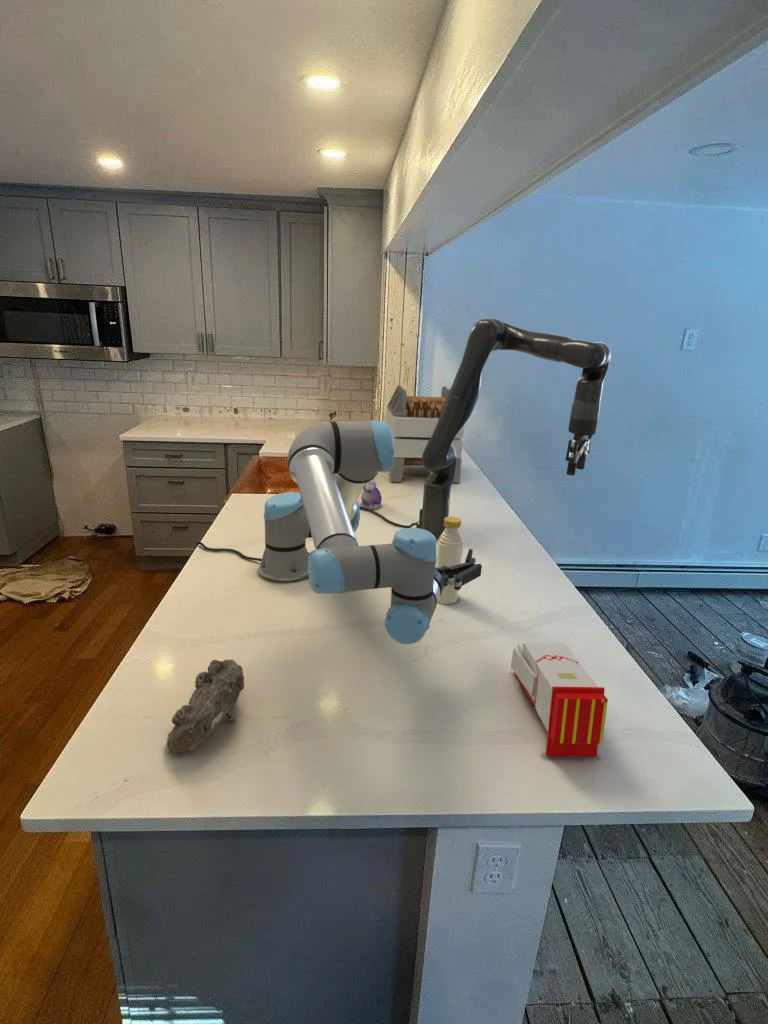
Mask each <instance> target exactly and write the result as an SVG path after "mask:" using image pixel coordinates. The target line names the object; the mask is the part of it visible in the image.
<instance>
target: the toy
mask: <svg viewBox="0 0 768 1024" xmlns="http://www.w3.org/2000/svg"><path fill="white" fill-rule="evenodd" d="M510 667H511V669H512V670H513V674H514V676H515V677H516V679H517V680H518V682H519V684H520V686H521V687H522V689H523V691H524V692H525V694H526V695H527V697H528V698H529V701H530V702H531V703H532V705H533V706H534V708H535V710H536V713H537V715H538V716H539V718H540V720H541V722H542V724H543V725H544V727H545V729H546V731H547V735H546V736H547V737H546V744H545V745H546V746H545V756H546V757H582V758H583V757H584V758H585V757H588V758H589V757H590V758H591V757H593V758H595V757H596V758H597V754H598V746H599V745H603V741H604V734H605V725H606V718H607V717H606V715H607V709H608V700H609V699H608V698H607V696H606V695H605V691H606V688H605V687H604V686H598V685H597V684H596V682H595V681H594V680H593V679H592V678H591V676H590V675H589V673H588V672H587V671H586V670H585V668H584V667H583V666H582V665H581V663H580V662H579V661H578V659H577V658H576V657H575V656H574V654H573V653H572V651H571V650H570V649H569V648H568V647H567V645H566V644H565V642H537V641H536V642H533V641H532V642H531V641H523V642H522V643H521V642H520V643H517V648H513V649H512V655H511V663H510Z"/></svg>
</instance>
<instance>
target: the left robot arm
mask: <svg viewBox="0 0 768 1024" xmlns="http://www.w3.org/2000/svg"><path fill="white" fill-rule="evenodd" d="M393 465H394V442H393V436H392V432H391V429H390V427H389V425H388V424H387V423H386V421H383V420H374V419H372V420H360V421H359V420H357V421H354V420H353V421H350V420H349V421H346V420H345V421H319V422H316V423H313V424H310V425H309V426H307V427H305V428H304V429H303V430H302V431H301V432H299V433H298V434H297V435H296V437H295V438H294V440H293V442H292V443H291V445H290V448H289V450H288V454H287V468H288V469H287V470H288V473H289V475H290V478H291V479H292V481H293V482H294V483H296V484H297V487H298V491H285V492H280V493H277V494H273V495H272V496H270V497H268V498H267V500H266V501H265V503H264V510H263V511H264V512H263V519H264V543H265V545H264V546H265V547H264V551H263V554H262V556H261V558H258V557H253V556H247V555H246V554H245V555H244V553H242V552H240V551H238V550H236V549H233V548H213V547H208V546H207V545H205V544H204V543H203V542H202V541H198V542H196V543H195V546H199V545H200V547H202V548H203V549H205V550H208V551H212V552H232V553H236V554H237V555H238V556H240V557H241V558H243V559H245V560H249V561H257V562H259V575H260V576H261V577H263V578H264V579H265V580H269V581H272V582H277V583H290V582H296V581H300V580H303V579H305V578H307V577H308V583H309V585H310V589H311V590H312V592H314V593H315V594H318V595H328V594H335V595H336V594H339V595H340V594H342V593H349V592H350V593H351V592H358V591H365V590H366V591H367V590H375V589H386V588H390V591H391V592H390V606H389V608H387V611H386V614H385V615H386V616H385V618H384V629H385V631H386V633H387V634H388V636H389V637H390V638H391V639H392V640H393V641H395V642H397V643H398V644H401V645H402V644H403V645H414V644H415V643H418V642H419V641H421V640H422V639H423V638H424V636H425V634H426V633H427V632H428V629H429V628H430V623H431V621H432V618H433V615H434V613H435V610H436V608H437V605H438V603H439V602H438V601H439V598H440V596H441V594H442V591H443V588H444V587H445V586H447V585H453V586H454V589H455V590H458V591H460V590H461V589H462V587H463V586H465V585H467V584H469V583H470V582H472V581H474V580H475V579H476V580H477V579H478V578H480V577H481V575H482V568H483V567H482V566H483V565H482V563H476V558H475V557H473V551H474V550H473V548H469V549H468V551H467V555H466V557H465V561H464V562H463V563H462V562H461V564H458V565H455V566H451V567H447V566H443V567H439V568H437V567H436V560H437V541H436V538H435V537H434V535H432V533H430V532H429V531H427V530H424V529H420V528H416V527H411V528H403V529H399V530H397V531H395V533H394V534H393V539H392V542H391V543H380V544H370V545H359V541H358V539H357V537H356V534H355V533H356V532H357V530H358V529H359V525H360V521H361V509H360V508H359V506H360V504H359V500H358V499H359V497H360V495H361V494H362V492H363V490H364V489H363V487H364V485H365V483H367V482H369V481H371V480H373V479H374V480H375V478H376V477H377V475H378V474H379V473H381V472H382V473H387V472H390V471H391V470H392V468H393ZM310 538H311V539H312V541H313V546H314V549H313V550H311V551H310V552H309V551H308V549H307V546H306V545H307V543H306V540H307V539H310Z"/></svg>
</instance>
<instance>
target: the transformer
mask: <svg viewBox="0 0 768 1024" xmlns="http://www.w3.org/2000/svg"><path fill="white" fill-rule="evenodd" d="M450 389H451V388H447V386H442V387H441V392H440V393H441V394H440V396H415V395H414V396H413V395H412V396H411V395H407V394H408V393H407V390H406V389H404V388H403V387H402V385H399V384H398V385H397V386H396V388H395V390H394V392H393V394H392V395H391V398H390V400H389V402H388V404H387V405H386V413H385V414H386V415H385V422H386V423H387V424H388V425H389V427H390V429H391V432H392V436H393V442H394V465H393V468H392V470H391V471H389V475H388V476H389V477H388V478H389V480H390V482H391V483H402V482H403V475H404V469H405V466H406V467H407V466H411V467H412V466H413V467H415V466H416V467H417V466H418V467H424V466H423V464H422V454H423V451H424V449H425V447H426V445H427V443H428V441H429V440H430V438H431V436H432V434H433V432H434V430H435V427H436V425H437V422H438V419H439V417H440V414H441V412H442V409H443V407H444V404H445V401H446V399H447V396H448V393H449V391H450ZM464 429H465V425H464V426H463V427H462V428H461V429H460V431H459V432H458V433H457V435H456V436H455V438H454V439H453V442H452V444H451V445H452V446H453V447H454V449H455V451H456V468H455V476H454V481H453V483H452V484H455V483H456V484H459V483H461V472H462V461H463V460H462V453H463V442H464V441H463V440H462V439H463V438H464V431H465V430H464Z"/></svg>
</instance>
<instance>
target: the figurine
mask: <svg viewBox="0 0 768 1024" xmlns="http://www.w3.org/2000/svg"><path fill="white" fill-rule="evenodd" d="M360 495H361V498H360V499H361V502H360V507H364V508H367V509H370V510H377V509H378V508H380V507H381V505H382V499H383V498H382V494H381V491H380V489H379V488H377V482H376V480H375V478H374V479H373V480H371V481H369V482H367V483H365V485H364V487H363V489H362V491H361V494H360Z"/></svg>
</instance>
